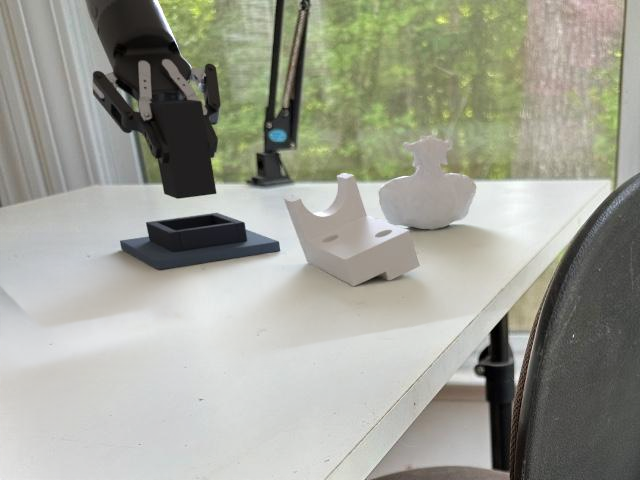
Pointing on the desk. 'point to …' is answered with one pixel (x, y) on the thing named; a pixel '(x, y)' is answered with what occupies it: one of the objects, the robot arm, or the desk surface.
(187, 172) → the tall black rectangular peg
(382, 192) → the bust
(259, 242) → the base pad
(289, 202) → the bracket
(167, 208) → the desk surface
